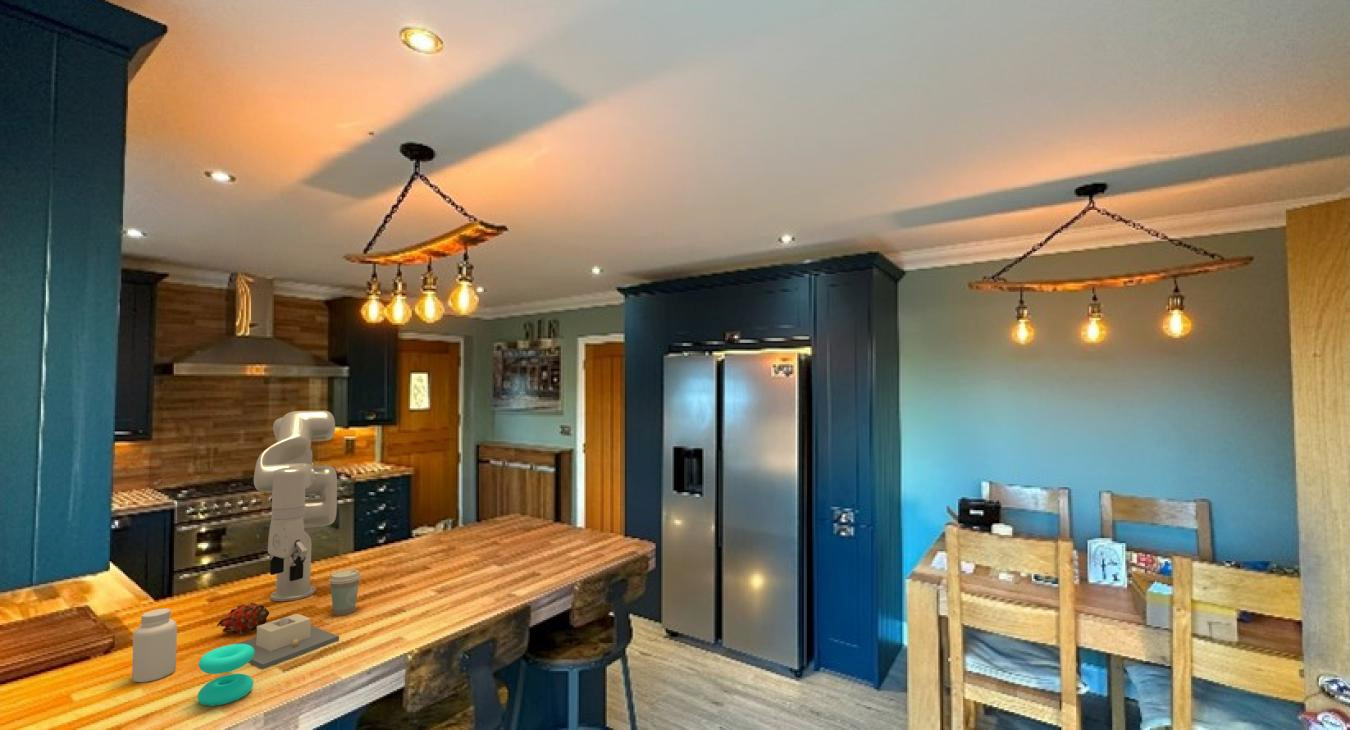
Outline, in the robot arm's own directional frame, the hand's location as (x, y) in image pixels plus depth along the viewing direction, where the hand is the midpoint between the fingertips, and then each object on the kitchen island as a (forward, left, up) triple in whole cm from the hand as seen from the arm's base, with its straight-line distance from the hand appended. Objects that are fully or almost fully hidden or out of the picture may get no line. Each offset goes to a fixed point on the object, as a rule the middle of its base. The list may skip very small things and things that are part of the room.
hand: (286, 576), depth 157 cm
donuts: (+16, -20, -19) cm, 32 cm away
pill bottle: (-10, -24, -19) cm, 32 cm away
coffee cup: (-9, +22, -19) cm, 30 cm away
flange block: (0, 0, -17) cm, 17 cm away
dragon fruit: (-19, -1, -19) cm, 26 cm away
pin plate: (0, 0, -18) cm, 18 cm away
